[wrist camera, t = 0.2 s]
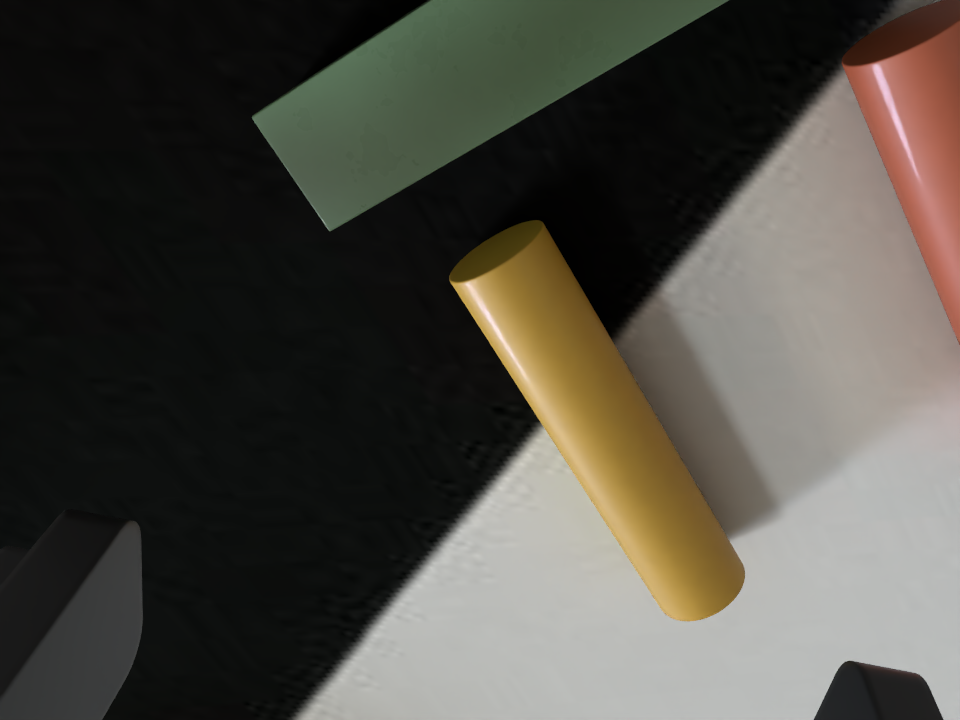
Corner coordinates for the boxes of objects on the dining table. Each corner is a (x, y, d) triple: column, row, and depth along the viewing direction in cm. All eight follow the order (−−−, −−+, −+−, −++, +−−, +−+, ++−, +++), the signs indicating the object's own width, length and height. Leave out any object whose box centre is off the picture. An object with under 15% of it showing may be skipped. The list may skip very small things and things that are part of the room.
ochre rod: (455, 255, 29) (441, 296, 26) (545, 207, 28) (540, 244, 25) (655, 571, 33) (662, 634, 31) (737, 539, 32) (752, 601, 30)
